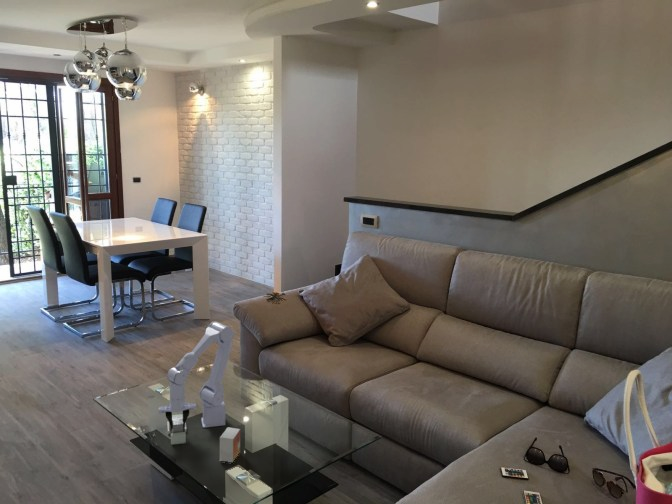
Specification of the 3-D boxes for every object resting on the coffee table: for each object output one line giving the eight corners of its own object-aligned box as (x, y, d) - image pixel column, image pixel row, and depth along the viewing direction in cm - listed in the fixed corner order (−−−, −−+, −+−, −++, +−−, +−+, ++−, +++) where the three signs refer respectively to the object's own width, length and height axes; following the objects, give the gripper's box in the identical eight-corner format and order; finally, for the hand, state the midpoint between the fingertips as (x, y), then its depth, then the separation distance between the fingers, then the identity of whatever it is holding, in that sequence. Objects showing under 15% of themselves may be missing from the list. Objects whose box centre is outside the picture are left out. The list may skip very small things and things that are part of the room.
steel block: (182, 427, 233) (182, 416, 232) (183, 435, 228) (183, 423, 227) (172, 428, 232) (171, 417, 231) (172, 436, 226) (172, 425, 225)
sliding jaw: (183, 422, 241) (182, 414, 240) (183, 426, 238) (183, 418, 237) (169, 424, 239) (169, 415, 239) (169, 428, 236) (169, 419, 235)
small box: (233, 464, 214) (233, 439, 212) (219, 462, 215) (219, 437, 213) (240, 452, 222) (240, 428, 219) (227, 450, 223) (227, 426, 220)
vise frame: (185, 422, 242) (185, 413, 241) (188, 442, 227) (187, 433, 226) (167, 424, 239) (167, 415, 238) (168, 444, 224) (168, 435, 223)
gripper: (194, 390, 232) (194, 420, 235) (158, 393, 228) (158, 424, 231) (196, 398, 226) (196, 428, 229) (158, 402, 221) (159, 433, 224)
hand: (177, 427), depth 229 cm, fingers closed on steel block, 4 cm apart
